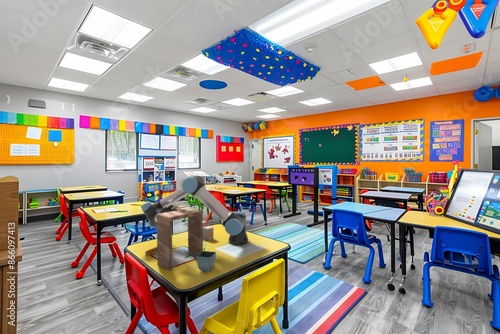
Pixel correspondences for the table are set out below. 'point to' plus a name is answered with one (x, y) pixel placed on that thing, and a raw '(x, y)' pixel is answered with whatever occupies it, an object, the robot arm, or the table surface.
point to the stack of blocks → (207, 231)
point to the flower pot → (206, 260)
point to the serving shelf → (166, 235)
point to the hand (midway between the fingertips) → (178, 203)
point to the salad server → (186, 209)
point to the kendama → (150, 251)
